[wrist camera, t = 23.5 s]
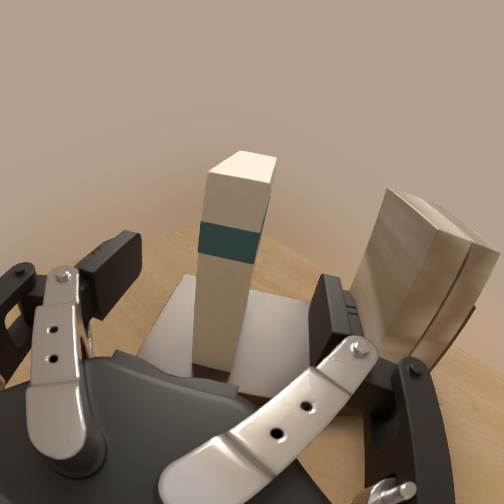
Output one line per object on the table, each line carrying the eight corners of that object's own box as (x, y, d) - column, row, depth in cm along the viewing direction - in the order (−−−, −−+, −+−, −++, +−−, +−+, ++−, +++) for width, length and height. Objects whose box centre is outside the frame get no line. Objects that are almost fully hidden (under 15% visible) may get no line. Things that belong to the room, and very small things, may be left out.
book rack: (397, 326, 25) (453, 208, 19) (426, 414, 15) (531, 273, 9) (184, 284, 26) (197, 141, 19) (134, 372, 16) (114, 166, 10)
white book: (248, 299, 23) (277, 157, 18) (231, 373, 16) (270, 183, 11) (218, 292, 23) (239, 150, 18) (190, 363, 16) (206, 171, 11)
